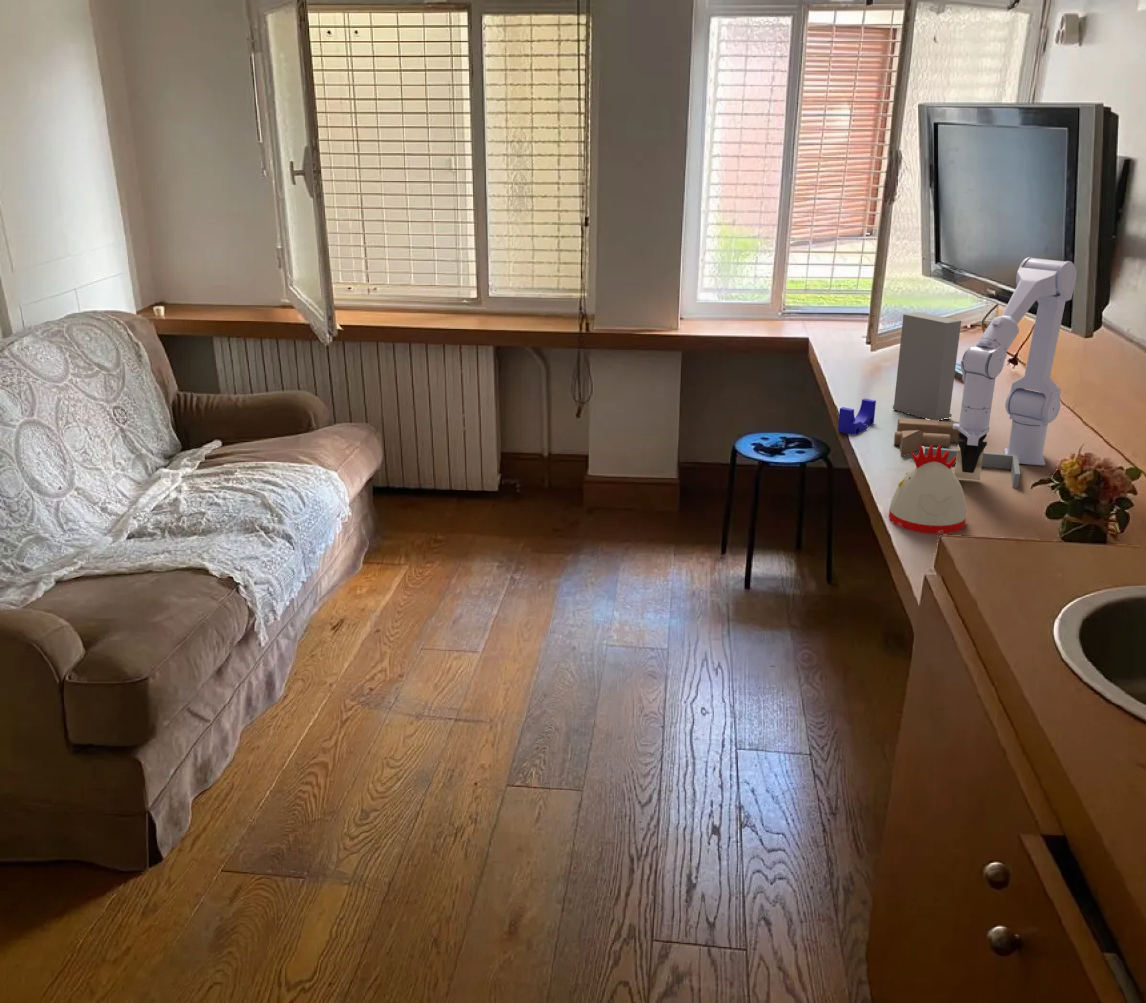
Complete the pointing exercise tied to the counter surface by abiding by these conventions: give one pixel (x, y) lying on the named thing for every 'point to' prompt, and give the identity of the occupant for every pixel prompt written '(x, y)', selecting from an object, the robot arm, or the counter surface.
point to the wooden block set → (923, 434)
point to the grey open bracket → (990, 461)
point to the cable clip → (857, 418)
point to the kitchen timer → (929, 496)
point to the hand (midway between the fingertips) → (967, 468)
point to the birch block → (965, 475)
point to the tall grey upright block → (926, 365)
